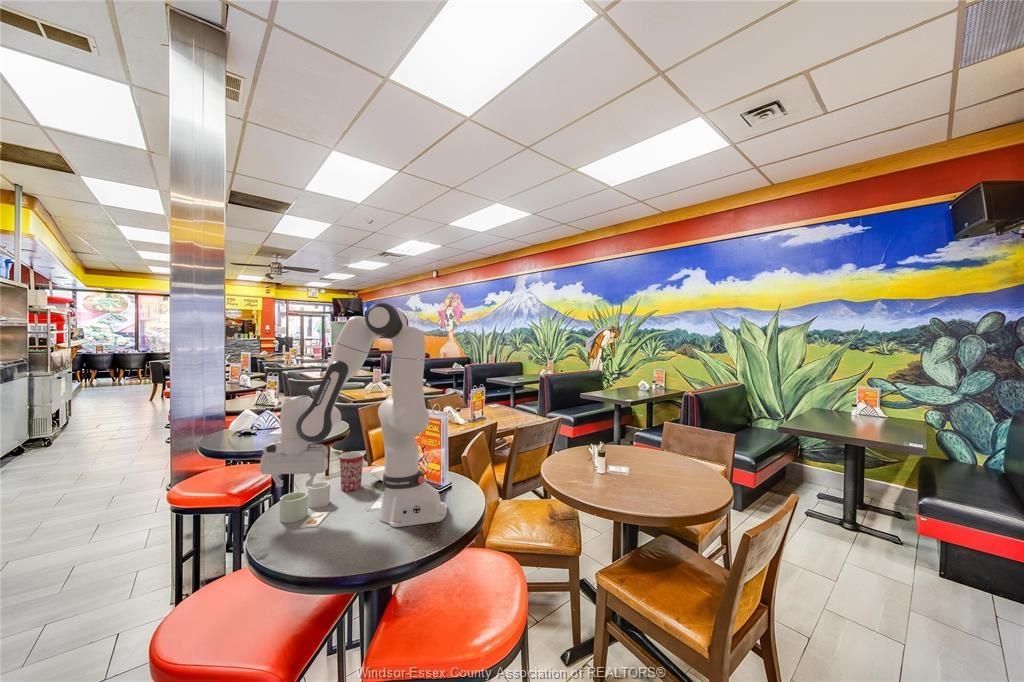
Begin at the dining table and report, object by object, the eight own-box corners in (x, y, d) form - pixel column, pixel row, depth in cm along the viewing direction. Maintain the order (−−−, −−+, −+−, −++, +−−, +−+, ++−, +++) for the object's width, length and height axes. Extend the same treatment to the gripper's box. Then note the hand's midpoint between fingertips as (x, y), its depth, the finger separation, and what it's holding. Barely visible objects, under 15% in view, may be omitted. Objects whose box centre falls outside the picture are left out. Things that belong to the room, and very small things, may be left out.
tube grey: (332, 499, 136) (332, 481, 137) (324, 507, 130) (325, 488, 130) (312, 500, 136) (313, 481, 136) (304, 508, 129) (304, 488, 129)
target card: (329, 513, 125) (329, 511, 125) (316, 527, 115) (316, 525, 115) (313, 513, 125) (313, 512, 125) (299, 528, 115) (299, 526, 115)
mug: (356, 493, 143) (357, 458, 143) (334, 492, 143) (334, 457, 144) (371, 481, 155) (371, 449, 156) (350, 480, 156) (350, 448, 156)
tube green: (311, 511, 127) (311, 491, 127) (300, 522, 119) (300, 500, 119) (287, 512, 126) (287, 492, 126) (274, 523, 118) (275, 501, 118)
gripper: (331, 441, 127) (330, 482, 127) (268, 442, 125) (267, 483, 125) (324, 446, 121) (323, 489, 120) (257, 447, 119) (256, 491, 118)
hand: (294, 486), depth 123 cm, fingers open, 8 cm apart
